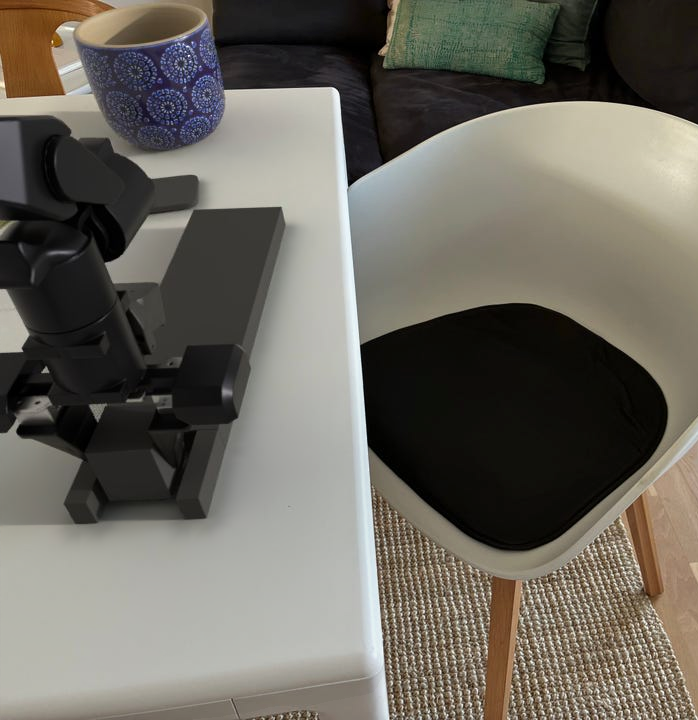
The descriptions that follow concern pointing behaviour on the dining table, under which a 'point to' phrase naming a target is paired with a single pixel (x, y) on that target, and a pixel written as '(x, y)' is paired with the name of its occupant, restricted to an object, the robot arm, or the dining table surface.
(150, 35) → the planter
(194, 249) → the base pad
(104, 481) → the pad block
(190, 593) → the dining table surface
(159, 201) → the phone
